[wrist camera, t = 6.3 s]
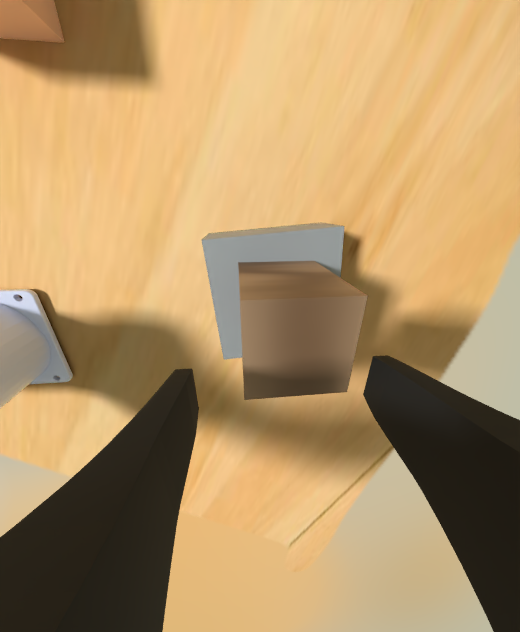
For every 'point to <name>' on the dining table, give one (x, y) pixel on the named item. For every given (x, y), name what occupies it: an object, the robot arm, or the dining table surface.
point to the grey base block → (261, 247)
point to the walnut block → (297, 328)
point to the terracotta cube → (30, 20)
